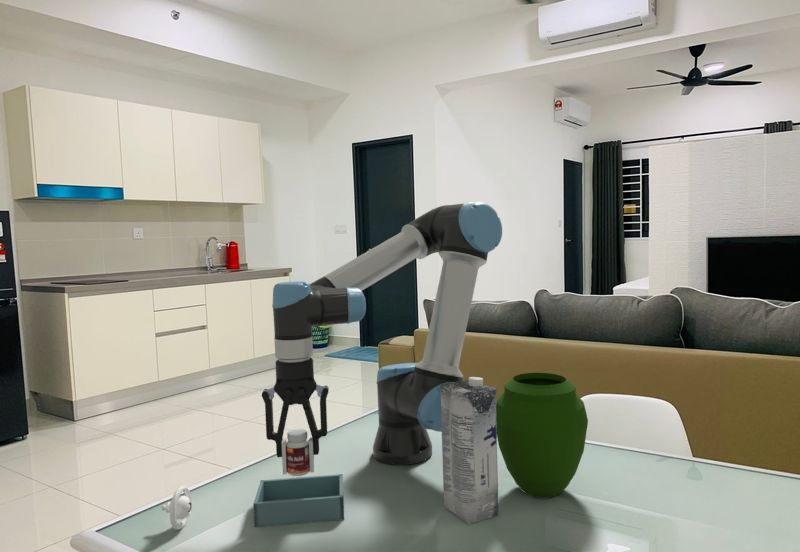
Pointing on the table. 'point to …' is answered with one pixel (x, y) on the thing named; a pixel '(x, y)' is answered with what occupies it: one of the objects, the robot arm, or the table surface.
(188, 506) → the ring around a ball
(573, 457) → the vase
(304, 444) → the pill bottle
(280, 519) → the bin
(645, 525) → the table surface
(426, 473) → the table surface
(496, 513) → the juice carton
